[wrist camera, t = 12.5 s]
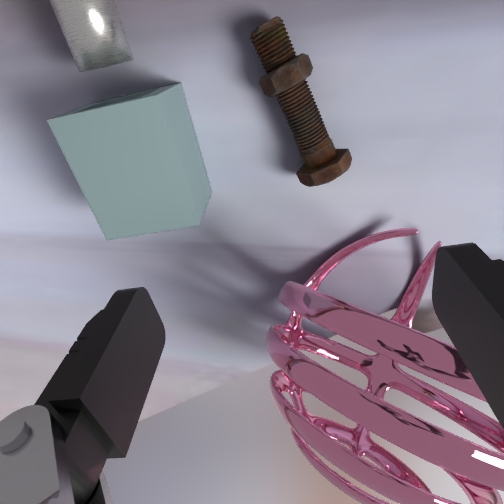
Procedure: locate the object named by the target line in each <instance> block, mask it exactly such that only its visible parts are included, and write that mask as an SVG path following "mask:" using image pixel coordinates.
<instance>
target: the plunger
mask: <svg viewBox="0 0 504 504" xmlns="http://www.w3.org/2000/svg"><path fill="white" fill-rule="evenodd" d="M49 1H50V3H51V6H52V8H53V10H54V13H55V15H56V17H57V20H58V22H59V25H60V27H61V29H62V32H63V34H64V36H65V39H66V41H67V44H68V46H69V48H70V51H71V53H72V55H73V58H74V60H75V62H76V65H77V67H78V70H79V72H85V71H90V70H95V69H99V68H103V67H107V66H112V65H116V64H120V63H124V62H128V61H131V60H134V58H133V55H132V52H131V49H130V46H129V44H128V41H127V38H126V35H125V32H124V29H123V26H122V23H121V20H120V17H119V14H118V11H117V8H116V5H115V2H114V0H49Z"/></svg>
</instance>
